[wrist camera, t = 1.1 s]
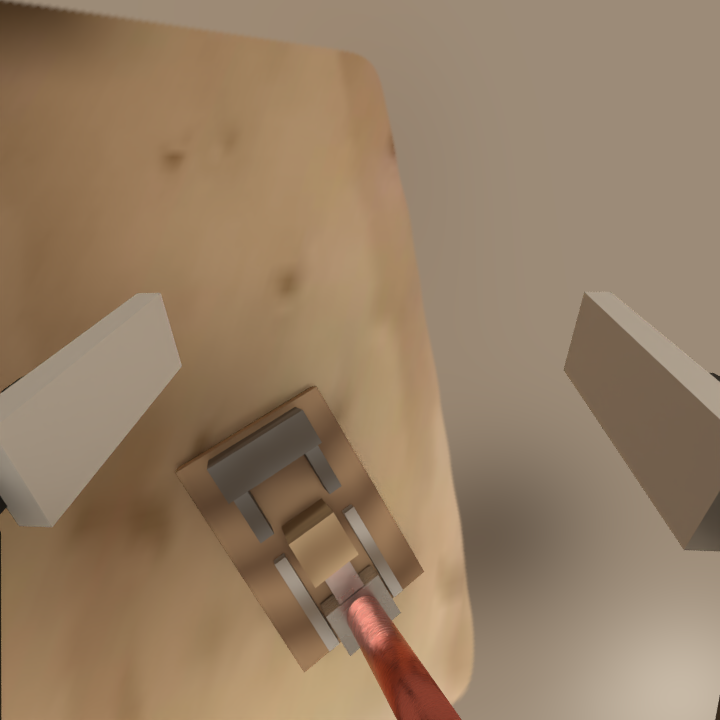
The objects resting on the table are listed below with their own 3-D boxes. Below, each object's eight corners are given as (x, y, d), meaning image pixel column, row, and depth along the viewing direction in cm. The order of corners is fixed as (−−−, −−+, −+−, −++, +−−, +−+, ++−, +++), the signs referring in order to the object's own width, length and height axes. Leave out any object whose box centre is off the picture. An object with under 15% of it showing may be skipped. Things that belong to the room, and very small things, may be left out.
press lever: (301, 574, 35) (380, 766, 18) (352, 535, 36) (471, 677, 19) (343, 641, 36) (458, 888, 18) (391, 600, 37) (539, 793, 20)
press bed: (177, 467, 34) (169, 484, 29) (312, 386, 38) (326, 387, 33) (299, 657, 37) (313, 704, 31) (414, 562, 41) (443, 590, 35)
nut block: (281, 526, 35) (288, 544, 31) (321, 498, 36) (333, 512, 32) (305, 565, 35) (315, 587, 31) (344, 536, 36) (358, 554, 33)
